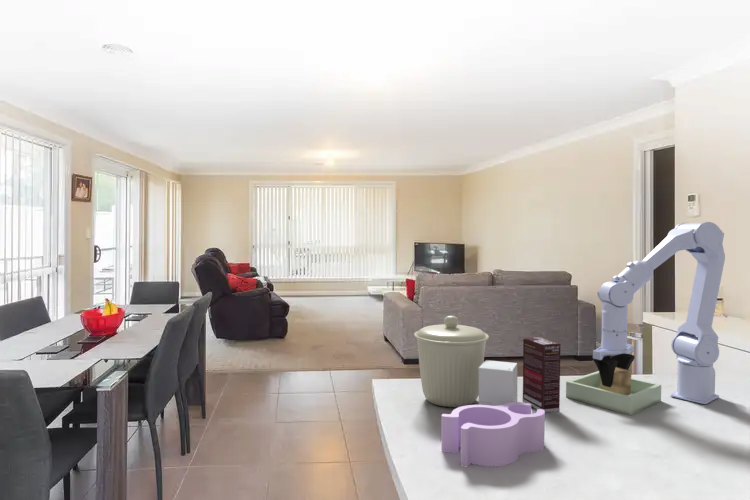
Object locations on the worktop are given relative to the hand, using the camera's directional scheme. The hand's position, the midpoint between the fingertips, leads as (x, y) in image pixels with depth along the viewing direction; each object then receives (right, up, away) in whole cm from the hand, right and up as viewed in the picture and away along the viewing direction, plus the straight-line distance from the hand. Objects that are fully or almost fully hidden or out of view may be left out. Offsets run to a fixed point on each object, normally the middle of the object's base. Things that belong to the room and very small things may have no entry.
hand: (613, 384), depth 125 cm
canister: (-41, -4, -1) cm, 41 cm away
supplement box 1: (-32, -4, -15) cm, 36 cm away
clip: (-36, -5, -29) cm, 47 cm away
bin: (0, -4, 0) cm, 4 cm away
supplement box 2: (-20, -4, -5) cm, 21 cm away
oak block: (0, -2, 0) cm, 2 cm away
